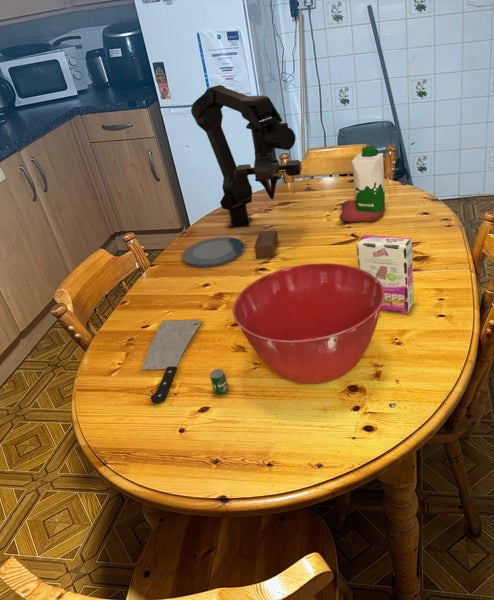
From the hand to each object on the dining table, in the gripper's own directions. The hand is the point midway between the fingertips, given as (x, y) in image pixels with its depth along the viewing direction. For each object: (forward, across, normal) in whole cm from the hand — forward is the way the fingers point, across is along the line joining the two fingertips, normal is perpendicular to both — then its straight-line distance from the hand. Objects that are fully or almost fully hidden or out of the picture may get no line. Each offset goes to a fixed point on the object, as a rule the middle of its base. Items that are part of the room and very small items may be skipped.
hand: (272, 198), depth 161 cm
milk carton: (+12, +28, +12) cm, 33 cm away
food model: (+11, +26, +13) cm, 31 cm away
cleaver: (+12, -17, -60) cm, 63 cm away
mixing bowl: (+12, +16, -63) cm, 66 cm away
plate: (+12, -18, -9) cm, 23 cm away
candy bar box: (+12, +31, -43) cm, 54 cm away
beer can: (+12, -2, -71) cm, 72 cm away
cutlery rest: (+12, -2, -10) cm, 15 cm away
